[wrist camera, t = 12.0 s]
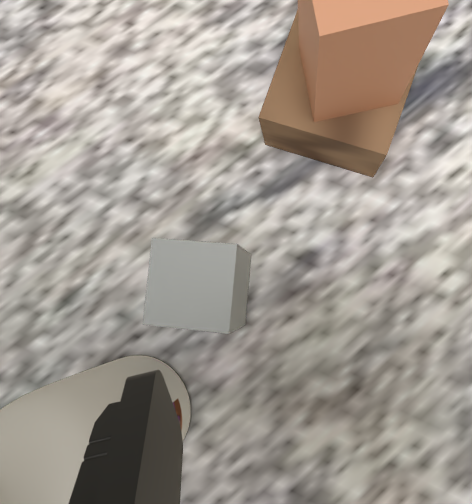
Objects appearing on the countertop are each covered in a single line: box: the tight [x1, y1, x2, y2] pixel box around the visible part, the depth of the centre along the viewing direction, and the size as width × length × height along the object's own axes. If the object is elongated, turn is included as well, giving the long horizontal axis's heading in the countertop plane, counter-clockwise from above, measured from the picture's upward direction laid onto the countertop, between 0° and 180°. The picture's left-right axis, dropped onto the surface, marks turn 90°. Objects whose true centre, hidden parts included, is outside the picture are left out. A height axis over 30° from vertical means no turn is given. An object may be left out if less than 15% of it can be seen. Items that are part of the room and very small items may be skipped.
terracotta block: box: [298, 0, 449, 122], centre depth 22 cm, size 5×5×9 cm
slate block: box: [143, 238, 251, 334], centre depth 28 cm, size 5×5×7 cm
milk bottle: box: [0, 355, 191, 504], centre depth 22 cm, size 8×8×20 cm
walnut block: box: [259, 10, 418, 177], centre depth 29 cm, size 8×8×5 cm
